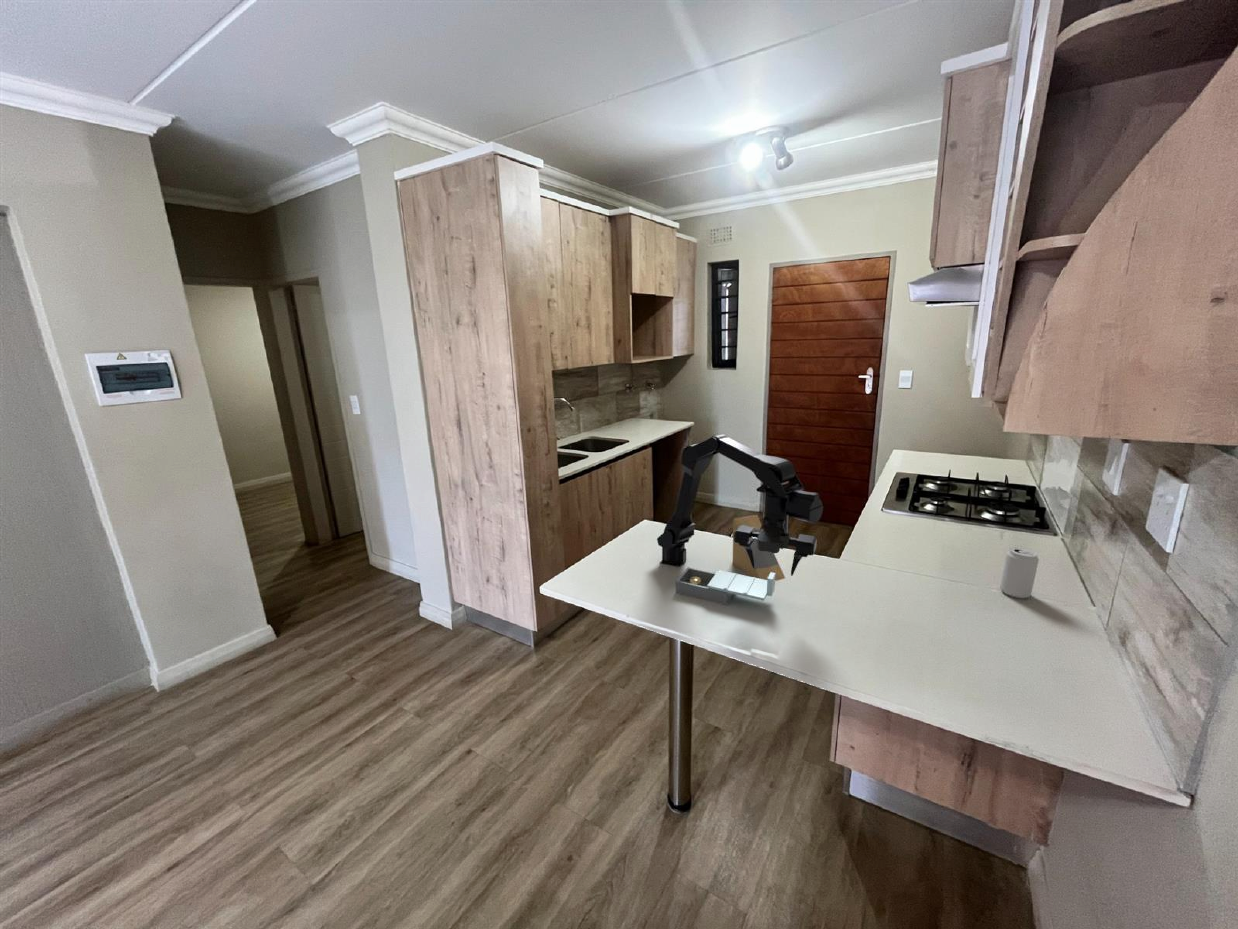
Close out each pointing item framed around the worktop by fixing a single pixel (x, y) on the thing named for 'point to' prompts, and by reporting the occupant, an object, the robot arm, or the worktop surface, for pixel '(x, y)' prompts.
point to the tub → (701, 587)
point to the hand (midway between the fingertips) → (772, 571)
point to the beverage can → (1019, 572)
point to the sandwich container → (764, 559)
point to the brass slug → (695, 580)
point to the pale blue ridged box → (743, 585)
